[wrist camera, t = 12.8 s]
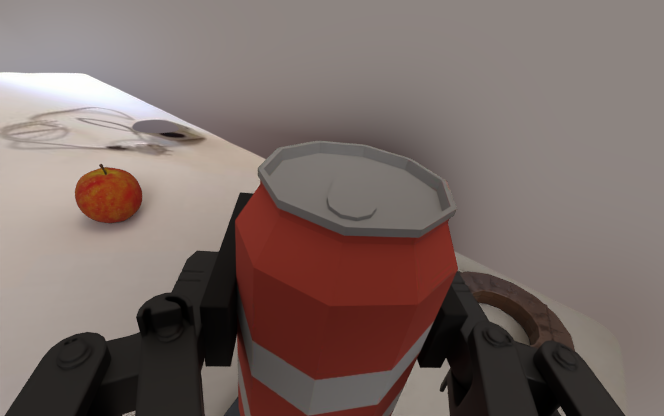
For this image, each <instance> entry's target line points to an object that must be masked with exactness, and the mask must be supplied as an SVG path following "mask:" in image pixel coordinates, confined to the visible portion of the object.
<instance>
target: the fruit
mask: <svg viewBox="0 0 664 416" xmlns="http://www.w3.org/2000/svg"><path fill="white" fill-rule="evenodd" d="M99 166H100V167H101V168H100V169H97V170H94V171H91V172H89V173H87V174H85V175H84V176H82V177H81V178H80V180H79V181H78V183H77V185H76V189H75V198H76V202H77V205H78V207H79V208H80V210H81V211H82V212H83V213H84V214H85V215H86V216H88V217H89V218H91V219H93V220H96V221H99V222H104V223H114V222H121V221H125V220H126V219H128V218H129V217H131V216H132V215H133V214H134V213H135V212H136V211H137V210H138V209H139V207H140V205H141V202H142V190H141V187H140V185H139V183H138V181H137V180H136V179H135V177H134V176H133V175H131V174H130V173H128V172H126V171H124V170H121V169H115V168H108V167H103V165H102V164H100V165H99Z"/></svg>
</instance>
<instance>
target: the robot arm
mask: <svg viewBox="0 0 664 416" xmlns="http://www.w3.org/2000/svg"><path fill="white" fill-rule="evenodd" d="M252 196H253V194H252V193H240V194H239V197H238V200H237V202H236V205H235V208H234V211H233V214H232V217H231V219H230V222H229V225H228V228H227V231H226V233H225V236H224V239H223V242H222V245H221V248H220V250H219V252H211V251H196V252H195V253H194V254H193V255H192V256H191V257H189V258H188V259H187V261H186V263H185V265H184V267H183V269H182V272H181V273H180V276H179V278H178V281H177V282H176V284H175V286H174V288H173V290H172V292H171V293H164V294H161V295H157V296H155V297H153V298H151V299H150V300H148V301H146V302H145V303H144V304H143V305H142V307H141V308H140V309H139V311H138V314H137V316H136V318H137V322H138V326H139V330H140V332H139V333H137V334H133V335H130V336H127V337H122V338H118V339H114V340H110V341H105V338H104V337H103V336H101V335H100V334H98V333H91V332H86V333H80V334H75V335H73V336H70V337H68V338H66V339H63V340H62V341H60V342H59V343H57V344H56V345H55V346H53V347H52V348H51V349H50V350H49V351H48V352H47V353H46V354H45V356H44V357H43V358H42V360H41V361H40V363H39V364H38V366H37V367H36V369H35V370H34V372H33V373H32V375H31V376H30V378H29V379H28V381H27V382H26V384H25V385H24V387H23V389H22V390H21V392H20V393H19V395H18V396H17V398H16V399H15V401H14V402H13V404H12V405H11V407H10V408H9V410H8V411H7V413H6V414H5V416H122V415H123V414H125V413H128V412H131V411H135V410H136V411H135V416H205V414H204V402H203V390H202V378H201V369H202V366H203V362H204V359H205V364H206V366H231V361H232V356H233V352H234V347H235V342H236V337H237V290H236V237H235V220H236V218H237V217H238V216H239V214H240V213H241V211H242V210H243V208H244V207H245V206H246V204H247V203H248V201H249V200H250V198H251V197H252ZM445 358H447V361H448V363H449V365H450V370H449V371H448V373H447V375H446V377H445V379H444V380H443V382H442V384H441V387H440V391H441V392H443V391H444V390H445V388H446V386H448V398H449V410H450V416H561V415H560V414H559V412H558V410H557V409H558V408H559V407H560V406H561V408H562V409H563V411H564V413H565V414H566V416H625V415H624V413H623V412H622V411H621V409H620V408H619V407H618V405H617V404H616V403H615V401H614V400H613V399H612V397H611V396H610V394H609V393H608V392H607V390H606V389H605V388H604V386H603V385H602V384H601V382H600V381H599V380H598V378H597V377H596V376H595V374H594V373H593V372H592V370H591V369H590V368H589V366H588V365H587V364H586V362H585V361H584V360H583V359H582V358H581V357H580V356H579V354H578V353H576V352H575V351H574V350H572V349H571V348H570V347H568V346H566V345H564V344H562V343H560V342H556V341H552V340H551V341H545V342H544V343H543V344H542V345H541V346H540V347H539V349H538V348H535V347H531V346H528V345H525V344H522V343H518V342H516V341H514V340H513V338H512V336H511V335H510V334H509V333H508V332H507V331H506V330H504V329H503V328H502V327H500V326H499V325H496V324H494V323H492V322H489V320H488V318H487V317H486V315H485V314H484V312H483V310H482V309H481V307H480V305H479V304H478V302H477V301H476V299H475V297H474V296H473V294H472V293H470V289H469V288H468V286H467V285H465V281H464V280H463V278H462V276H461V275H460V273H459V272H458V271H457V272H456V274H455V276H454V279H453V281H452V283H451V285H450V287H449V290H448V292H447V294H446V296H445V298H444V300H443V303H442V305H441V307H440V309H439V311H438V314H437V316H436V318H435V320H434V322H433V324H432V327H431V329H430V331H429V333H428V335H427V338H426V340H425V342H424V344H423V346H422V349H421V351H420V353H419V355H418V357H417V360H418V363H419V365H420V368H441V366H442V364H443V362H444V360H445Z"/></svg>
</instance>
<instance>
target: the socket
mask: <svg viewBox="0 0 664 416" xmlns="http://www.w3.org/2000/svg"><path fill="white" fill-rule="evenodd" d="M459 273H460V275H461V276H462V278H463V280H464V281H465V285H467V286H468V288H469V289H470V293H472V294H473V296H474V297H475V299H476V301H477V302H478V303H485V304H490V305H492V306H495V307H497V308H500V309H501V310H503V311H504V312H506V313H508V314H509V315H511V316H512V317H513V318H514V319H515V320H516V321H517V322H518V323H519V324H520V325H521V326H522V327H523V328H524V329H525V331H526V333H527V335H528V336H529V338H530V346H531V347H535V348H538V349H539V347H540V346H541V345H542V344H543V343H544V342H545V341H551V340H552V341H556V342H560V343H562V344H564V345H566V346H568V347H570V348H571V349H572V350H574V351H575V349H574V345H573V342H572V338H571V336H570V334H569V332H568V331H567V329H566V328H565V327H564V325H563V324H562V322H561V321H560V320H559V318H558V317H557V316H556V314H555V313H554V312H552V311H551V310H550V309H549V308H548V307H547V305H546V304H543V303H542V302H541V301H540V300H539V299H538V298H536V297H535V296H534V295H532V294H530V293H529V292H527V291H525V290H524V289H522V288H520V287H518V286H517V285H515V284H513V283H511V282H508V281H506V280H503V279H500V278H498V277H495V276H492V275H489V274H483V273H476V272H462V273H461V272H459Z"/></svg>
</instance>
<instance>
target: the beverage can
mask: <svg viewBox="0 0 664 416" xmlns="http://www.w3.org/2000/svg"><path fill="white" fill-rule="evenodd" d="M258 177H259V178H260V180H261V181H260V186H259V187H258V188H257V190H256V191H255V193H254V194H253V196H252V197H251V198H250V200H249V201H248V203H247V204H246V206H245V207H244V208H243V210H242V211H241V213H240V214H239V216H238V217H237V218H236V220H235V237H236V290H237V343H238V396H239V411H240V416H391V414H392V412H393V410H394V408H395V405H396V403H397V401H398V399H399V397H400V394H401V392H402V390H403V388H404V386H405V384H406V381H407V379H408V377H409V375H410V373H411V370H412V368H413V366H414V364H415V362H416V359H417V357H418V355H419V353H420V351H421V349H422V346H423V344H424V342H425V340H426V338H427V335H428V333H429V331H430V329H431V327H432V324H433V322H434V320H435V318H436V316H437V314H438V311H439V309H440V307H441V305H442V303H443V300H444V298H445V296H446V294H447V292H448V290H449V287H450V285H451V283H452V281H453V279H454V276H455V274H456V272H457V270H458V266H457V262H456V257H455V253H454V249H453V244H452V240H451V236H450V231H449V226H448V221H449V218H451V217H453V216H454V214H455V212H456V209H457V207H456V205H455V202H454V199H453V197H452V194H451V191H450V189H449V186H448V184H447V181H446V180H444V179H443V178H441V177H439V176H438V175H436V174H435V173H433V172H431V171H430V170H428V169H427V168H425V167H423V166H422V165H420V164H418V163H417V162H415V161H414V160H412V159H410V158H407V157H403V156H400V155H397V154H394V153H390V152H387V151H384V150H380V149H377V148H374V147H370V146H367V145H359V144H348V143H338V142H327V141H314V142H308V143H302V144H297V145H291V146H285V147H280V148H277V149H276V150H275V152H273V153H272V154H271V155H270V156H269V157H268V158H267V159H266V160H265V161H264V162H263V163H262V164H261V165H260V166H259V167H258Z"/></svg>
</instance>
